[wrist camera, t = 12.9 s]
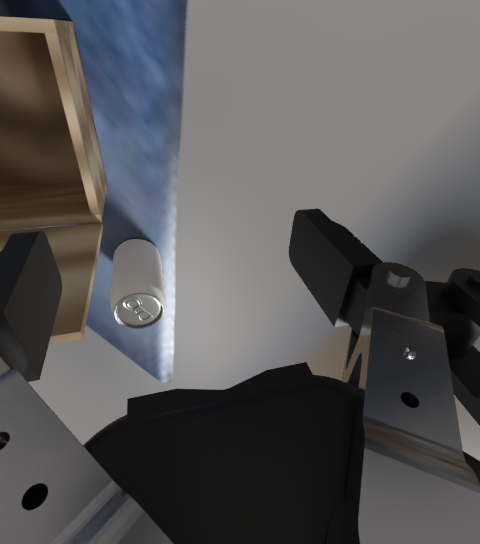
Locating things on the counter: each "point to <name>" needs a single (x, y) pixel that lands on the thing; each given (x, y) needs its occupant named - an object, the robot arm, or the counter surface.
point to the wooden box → (46, 129)
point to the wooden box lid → (71, 274)
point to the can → (137, 285)
